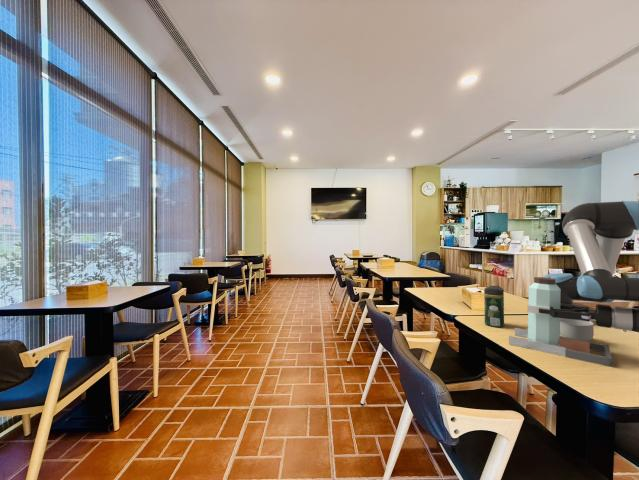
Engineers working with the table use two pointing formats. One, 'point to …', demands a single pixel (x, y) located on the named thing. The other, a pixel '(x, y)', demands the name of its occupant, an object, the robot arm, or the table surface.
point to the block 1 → (566, 343)
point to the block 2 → (581, 346)
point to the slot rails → (535, 343)
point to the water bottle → (538, 324)
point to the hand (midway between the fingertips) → (529, 306)
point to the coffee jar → (494, 306)
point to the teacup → (576, 329)
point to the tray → (592, 357)
